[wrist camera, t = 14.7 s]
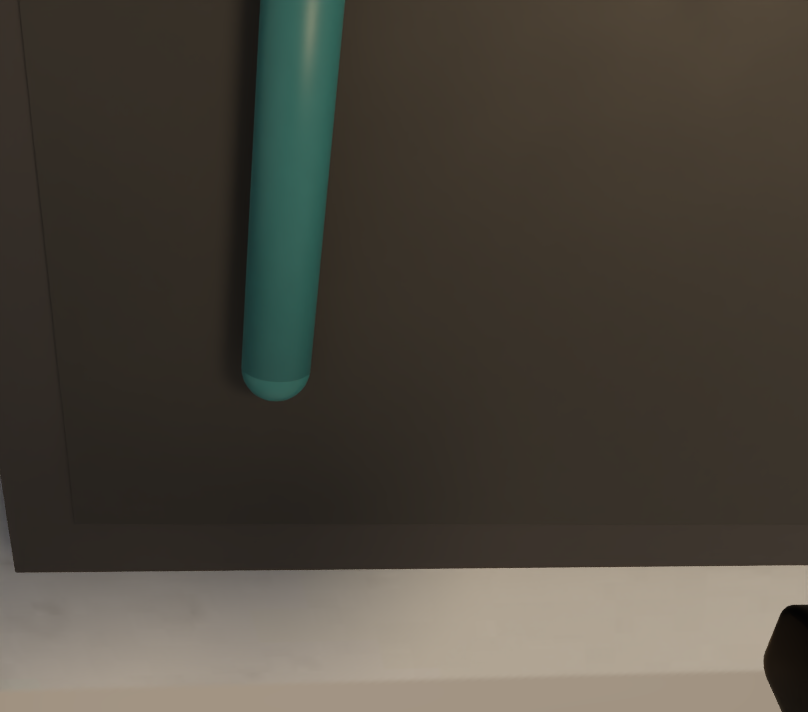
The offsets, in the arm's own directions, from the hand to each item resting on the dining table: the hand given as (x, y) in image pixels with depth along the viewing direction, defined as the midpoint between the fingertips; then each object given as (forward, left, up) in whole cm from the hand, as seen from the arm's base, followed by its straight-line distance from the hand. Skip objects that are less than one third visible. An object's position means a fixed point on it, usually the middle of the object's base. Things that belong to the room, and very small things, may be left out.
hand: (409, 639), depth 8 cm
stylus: (0, +2, -7) cm, 8 cm away
